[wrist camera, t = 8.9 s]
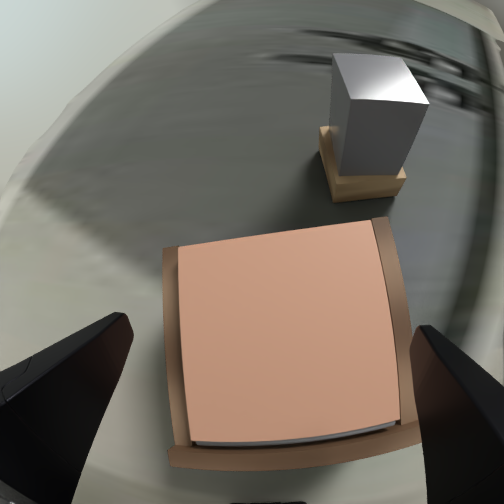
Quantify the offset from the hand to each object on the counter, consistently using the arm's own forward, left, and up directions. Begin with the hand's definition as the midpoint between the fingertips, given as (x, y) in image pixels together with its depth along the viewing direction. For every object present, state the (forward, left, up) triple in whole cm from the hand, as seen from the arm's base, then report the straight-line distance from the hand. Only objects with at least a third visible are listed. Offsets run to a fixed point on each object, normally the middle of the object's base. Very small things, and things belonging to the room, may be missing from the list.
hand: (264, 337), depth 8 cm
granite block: (+14, -8, -10) cm, 19 cm away
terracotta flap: (0, 0, -6) cm, 6 cm away
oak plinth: (+14, -8, -13) cm, 21 cm away
